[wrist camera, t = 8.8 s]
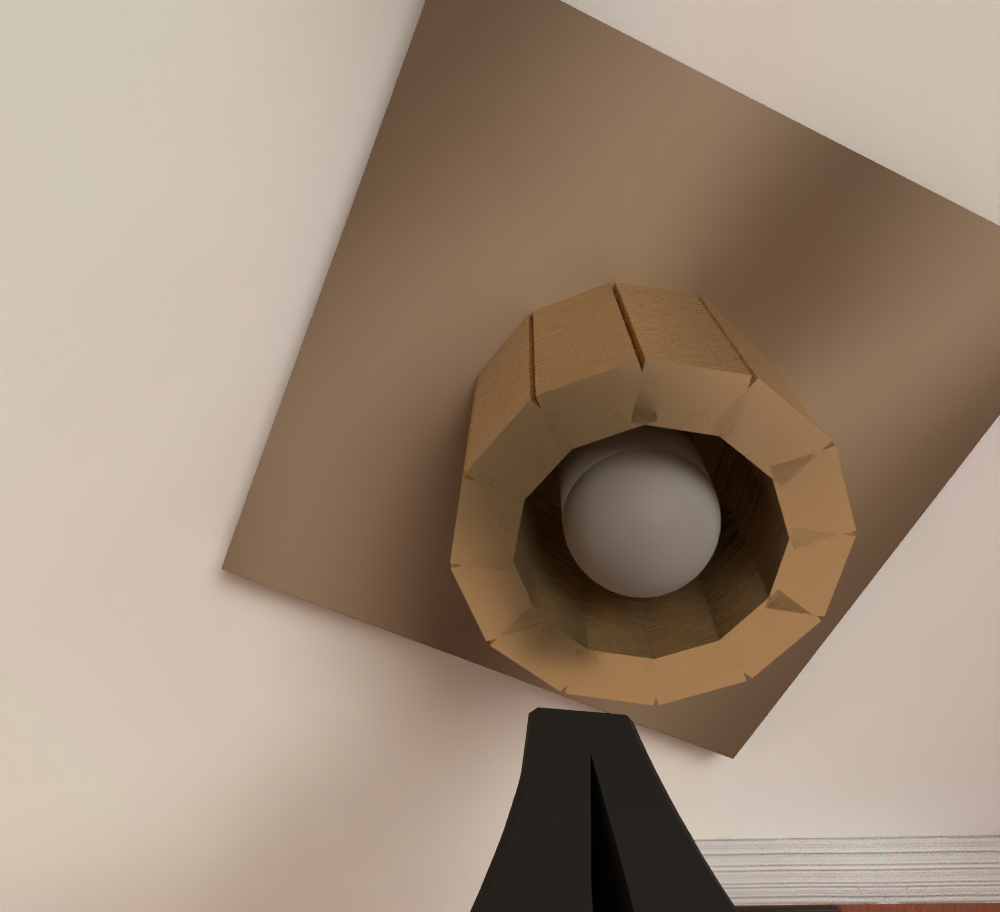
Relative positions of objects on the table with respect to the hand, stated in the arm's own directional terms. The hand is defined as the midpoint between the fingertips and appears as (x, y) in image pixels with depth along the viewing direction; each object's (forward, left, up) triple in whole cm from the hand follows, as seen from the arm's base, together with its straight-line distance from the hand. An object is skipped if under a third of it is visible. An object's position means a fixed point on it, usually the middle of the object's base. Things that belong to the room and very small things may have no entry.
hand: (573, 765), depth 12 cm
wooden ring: (0, -3, -6) cm, 6 cm away
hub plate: (0, -3, -6) cm, 7 cm away
